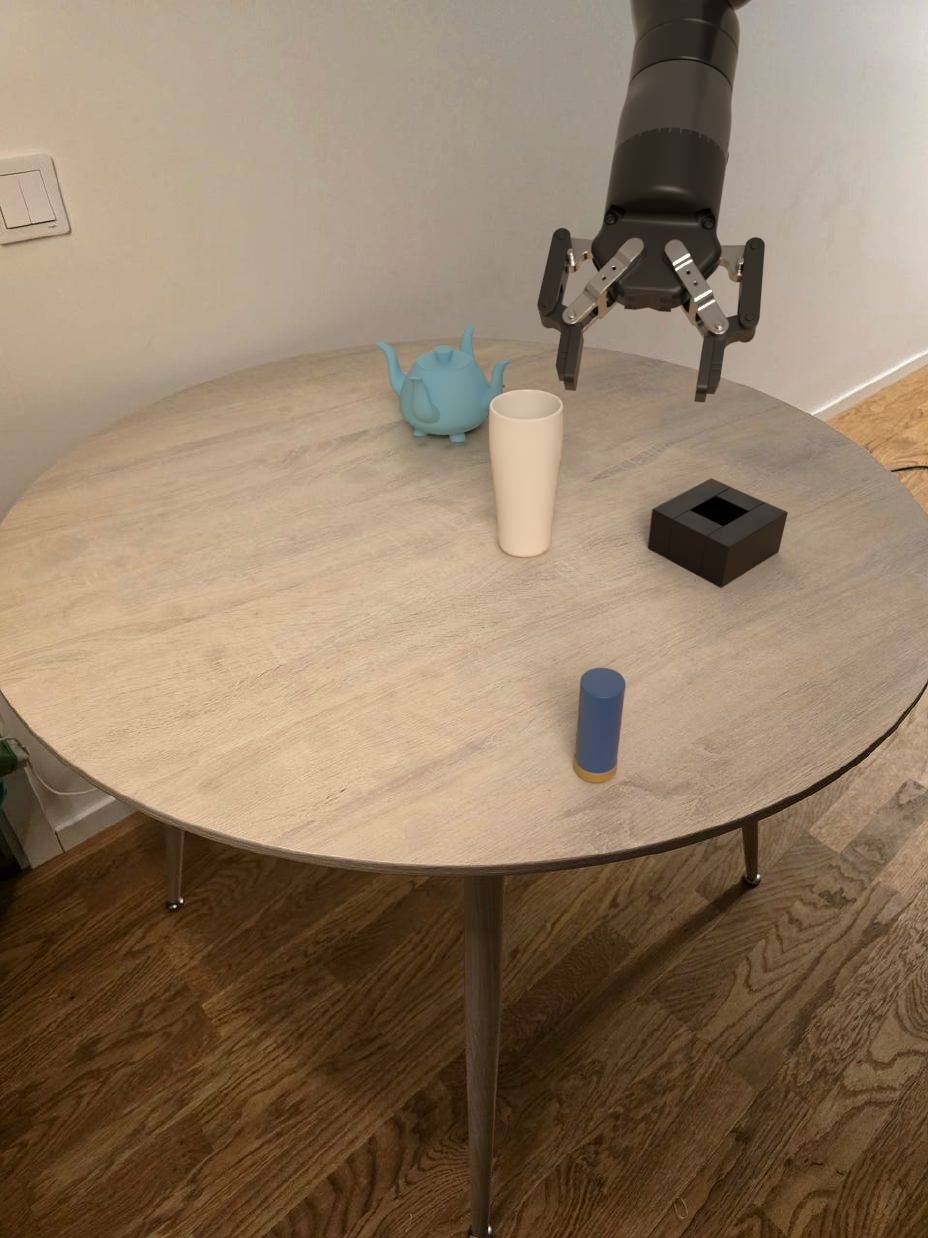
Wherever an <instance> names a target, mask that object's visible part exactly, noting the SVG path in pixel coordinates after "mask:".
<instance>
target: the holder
mask: <svg viewBox="0 0 928 1238" xmlns="http://www.w3.org/2000/svg"><path fill="white" fill-rule="evenodd" d="M788 514H789V513H788V511H786V510H784V509H782V508H779V507H778V506H775V505H773V504H771V503H769V502H766V501H763V500H761V499H759V498H756V497H754V496H753V495H750V494H748V493H745V492H743V491H742V490H739V489H737V488H735V487H731V486H730V485H727V484H725V483H723V482H721V481H718V480H716V479H714V478H709V479H707V480H705V481H703V482H701V483H699V484H698V485H695V486H693V487H691V488H690V489H688V490H686V491H684V492H682V493H680V494H678V495H677V496H674V497H673V498H670V499H669V500H667V501H665V502H662V503H661V504H660V505H658V506H655V507H654V508H652V510H651V517H650V526H649V532H648V533H649V535H648V542H647V549H648V550H650V551H652V552H654V553H656V554H658V555H659V556H661V557H662V558H665V559H667V560H668V561H670V562H671V563H674V564H676V565H677V566H680V567H681V568H683V569H685V570H687V571H689V572H690V573H692V574H694V575H696V576H698V577H700V578H702V579H703V580H705V581H707V582H709V583H711V584H713V585H715V586H716V587H718V588H720V589H722V588H724V587H725V586H727V585H728V584H730V583H732V582H733V581H735V580H736V579H738V578H740V577H741V576H743V575H744V574H746V573H748V572H749V571H751V570H752V569H753V568H755V567H758V565H760V564H762V563H764V562H765V561H767V560H768V559H770V558H771V557H773V556H775V555H776V554H778V553H779V552H780V547H781V544H782V539H783V535H784V531H785V526H786V521H787V517H788Z"/></svg>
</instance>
